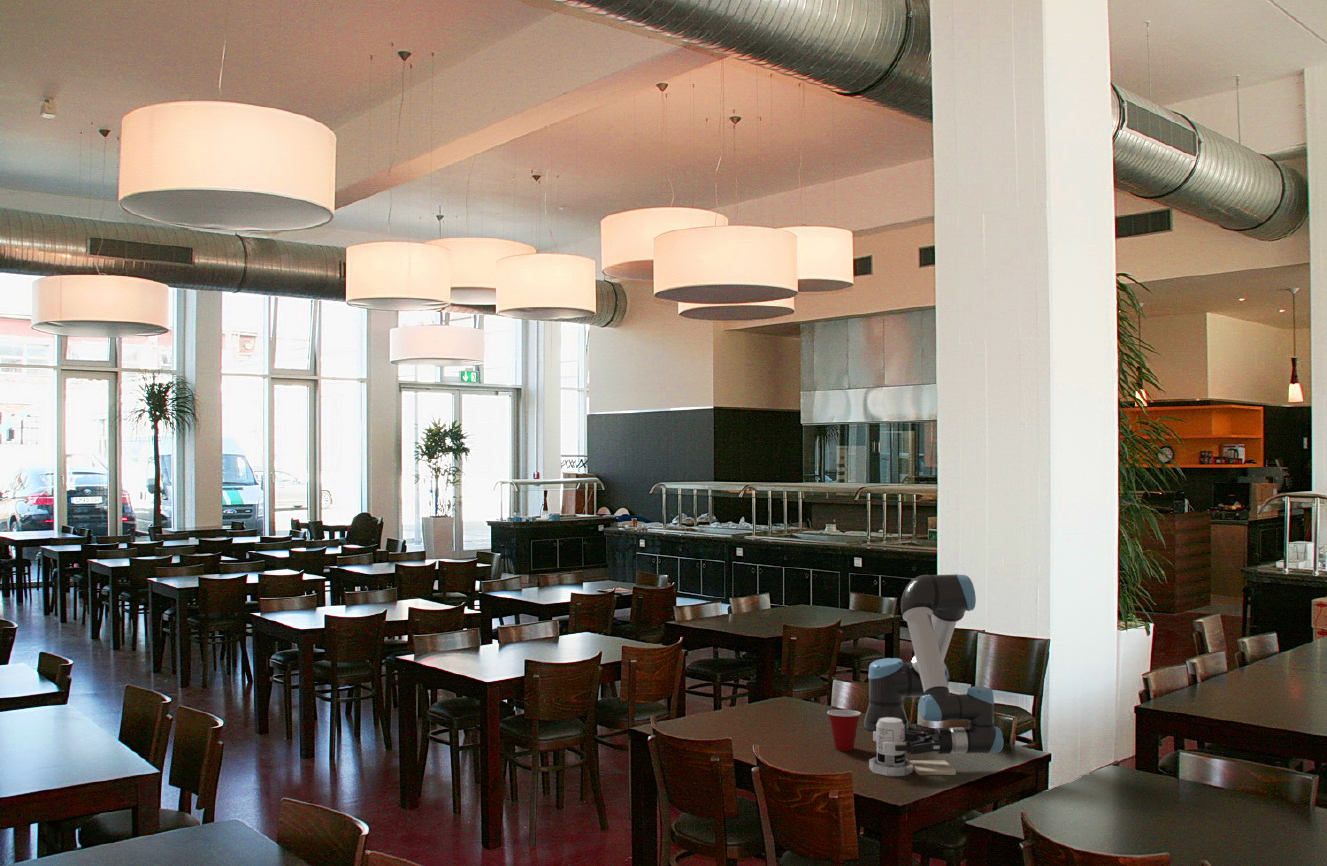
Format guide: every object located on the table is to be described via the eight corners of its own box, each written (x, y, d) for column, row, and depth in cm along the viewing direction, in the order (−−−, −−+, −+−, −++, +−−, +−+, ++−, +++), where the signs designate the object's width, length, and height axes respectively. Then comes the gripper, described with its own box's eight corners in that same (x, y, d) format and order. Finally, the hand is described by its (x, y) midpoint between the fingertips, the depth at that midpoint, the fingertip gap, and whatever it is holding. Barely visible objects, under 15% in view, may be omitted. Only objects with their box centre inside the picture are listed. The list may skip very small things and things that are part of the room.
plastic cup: (859, 744, 341) (859, 707, 342) (862, 753, 331) (862, 715, 331) (826, 743, 342) (826, 706, 343) (828, 752, 332) (827, 714, 332)
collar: (866, 764, 319) (866, 756, 319) (905, 763, 319) (905, 755, 319) (875, 776, 307) (875, 767, 307) (916, 775, 307) (916, 767, 307)
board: (908, 764, 319) (908, 760, 319) (944, 763, 319) (944, 759, 319) (919, 775, 308) (919, 771, 308) (955, 774, 308) (955, 770, 308)
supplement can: (873, 766, 317) (873, 716, 317) (900, 765, 317) (899, 716, 318) (881, 774, 309) (880, 723, 309) (908, 773, 309) (908, 722, 310)
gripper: (962, 764, 302) (888, 766, 301) (937, 742, 326) (869, 743, 325) (962, 738, 302) (888, 739, 301) (937, 718, 326) (868, 719, 325)
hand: (878, 741), depth 313 cm, fingers open, 12 cm apart
